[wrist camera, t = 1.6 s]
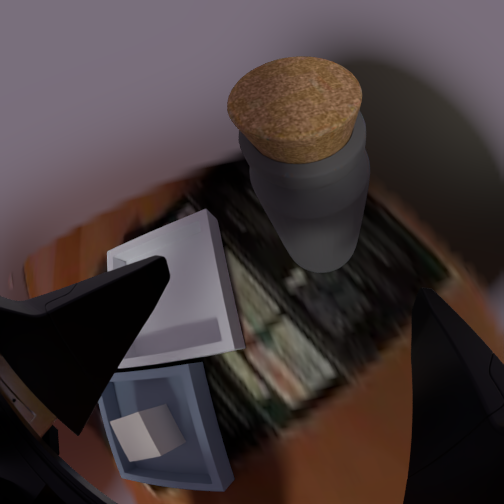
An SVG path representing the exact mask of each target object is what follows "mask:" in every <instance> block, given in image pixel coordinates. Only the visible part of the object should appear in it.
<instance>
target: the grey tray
mask: <svg viewBox="0 0 504 504" xmlns="http://www.w3.org/2000/svg"><path fill="white" fill-rule="evenodd" d="M154 255H158V256H164V257H165V258H166V260H167V264H168V268H169V272H170V280H169V283H168V284H167V286H166V288H165V290H164V292H163V294H162V296H161V298H160V299H159V301H158V303H157V305H156V307H155V309H154V311H153V312H152V314H151V315H150V317H149V319H148V320H147V322H146V323H145V325H144V326H143V328H142V329H141V331H140V333H139V334H138V336H137V337H136V339H135V341H134V342H133V344H132V345H131V347H130V349H129V350H128V352H127V353H126V355H125V357H124V358H123V360H122V362H121V363H120V365H119V366H118V368H134V367H143V366H150V365H158V364H165V363H171V362H177V361H183V360H189V359H195V358H200V357H206V356H211V355H216V354H221V353H226V352H230V351H235V350H239V349H244V348H246V347H245V343H244V339H243V335H242V330H241V326H240V322H239V317H238V313H237V309H236V304H235V300H234V295H233V291H232V286H231V282H230V277H229V272H228V268H227V263H226V258H225V254H224V249H223V244H222V239H221V234H220V229H219V224H218V220H217V219H216V218H215V217H214V216H213V215H212V214H211V213H210V212H209V211H208V210H207V209H204V210H201V211H199V212H196V213H194V214H192V215H189V216H187V217H184V218H182V219H179V220H177V221H175V222H172V223H170V224H168V225H165V226H163V227H161V228H158V229H156V230H154V231H151V232H149V233H147V234H144V235H142V236H140V237H138V238H136V239H133V240H131V241H129V242H127V243H125V244H122V245H120V246H118V247H116V248H114V249H112V250H109V251H107V268H108V271H111V270H114V269H117V268H120V267H123V266H125V265H128V264H131V263H134V262H137V261H140V260H143V259H146V258H148V257H151V256H154Z"/></svg>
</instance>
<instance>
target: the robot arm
mask: <svg viewBox="0 0 504 504" xmlns="http://www.w3.org/2000/svg"><path fill="white" fill-rule="evenodd" d="M169 280H170V272H169V268H168V264H167V260H166V258H165V257H164V256H158V255H154V256H151V257H148V258H146V259H143V260H140V261H137V262H134V263H131V264H128V265H125V266H123V267H120V268H117V269H114V270H111V271H108V272H106V273H103V274H100V275H97V276H95V277H92V278H89V279H86V280H84V281H81V282H79V283H75V284H73V285H70V286H67V287H64V288H62V289H59V290H56V291H53V292H50V293H47V294H44V295H41V296H38V297H35V298H32V299H29V300H25V301H14V300H10V299H7V298H4V297H1V296H0V504H117V503H116V502H114V501H113V500H111V499H110V498H109V497H107V496H106V495H104V494H103V493H102V492H100V491H99V490H98V489H96V488H95V487H94V486H93V485H91V484H90V483H89V482H88V481H86V480H85V479H84V478H83V477H82V476H80V475H79V474H78V473H77V472H76V471H75V470H73V469H72V468H71V467H70V466H69V465H68V464H67V463H66V462H65V461H64V460H63V459H62V458H60V457H59V456H58V455H59V443H58V442H59V441H58V430H57V429H56V428H55V427H54V426H53V423H54V422H55V421H56V420H57V418H58V419H59V420H60V421H61V422H62V423H63V424H65V425H66V426H67V427H68V428H69V429H70V430H71V431H73V432H74V433H75V434H76V435H77V436H79V435H80V433H81V432H82V430H83V428H84V426H85V424H86V422H87V421H88V419H89V417H90V415H91V413H92V412H93V410H94V408H95V406H96V404H97V403H98V401H99V399H100V397H101V396H102V394H103V392H104V390H105V388H106V387H107V385H108V383H109V382H110V380H111V378H112V376H113V375H114V373H115V371H116V370H117V368H118V366H119V365H120V363H121V362H122V360H123V358H124V357H125V355H126V353H127V352H128V350H129V349H130V347H131V345H132V344H133V342H134V341H135V339H136V337H137V336H138V334H139V333H140V331H141V329H142V328H143V326H144V325H145V323H146V322H147V320H148V319H149V317H150V315H151V314H152V312H153V311H154V309H155V307H156V305H157V303H158V301H159V299H160V298H161V296H162V294H163V292H164V290H165V288H166V286H167V284H168V283H169ZM492 353H493V352H492V350H491V349H490V348H489V347H488V346H487V345H486V344H485V343H484V341H483V340H482V339H481V338H480V337H479V336H478V335H477V334H476V333H475V332H474V331H473V329H472V328H471V327H470V326H469V325H468V324H467V323H466V322H465V321H464V320H463V319H462V318H461V317H460V316H459V315H458V314H457V313H456V312H455V311H454V310H453V309H452V308H451V307H450V306H449V305H448V304H447V303H446V302H445V301H444V300H443V299H442V298H441V297H440V296H439V295H438V294H437V293H436V292H435V291H434V290H432V289H430V288H420V289H419V291H418V294H417V297H416V300H415V303H414V306H413V309H412V341H411V364H412V388H413V416H412V439H411V452H410V462H409V471H408V479H407V484H406V490H405V496H404V501H403V504H504V364H503V363H502V362H501V361H500V360H499V359H498V357H497V356H496V355H495V354H494V353H493V354H492Z"/></svg>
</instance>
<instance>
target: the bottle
mask: <svg viewBox="0 0 504 504" xmlns="http://www.w3.org/2000/svg"><path fill="white" fill-rule="evenodd" d="M361 101H362V90H361V87H360V84H359V82H358V80H357V79H356V78H355V77H354V75H353V74H352V73H351V72H349V71H348V70H347V69H345V68H344V67H342V66H341V65H339V64H336V63H334V62H332V61H329V60H325V59H321V58H315V57H289V58H282V59H278V60H274V61H271V62H268V63H265V64H263V65H261V66H259V67H257V68H255V69H253V70H252V71H250V72H249V73H247V74H246V75H245V76H243V77H242V78H241V79H240V80H239V81H238V82H237V84H236V85H235V86H234V87H233V89H232V91H231V93H230V95H229V98H228V102H227V104H228V105H227V107H228V109H227V111H228V114H229V117H230V119H231V120H232V122H233V123H234V124H235V126H236V127H237V128H238V129H239V144H240V148H241V150H242V153H243V155H244V157H245V159H246V161H247V162H248V164H249V166H250V170H249V172H250V180H251V184H252V187H253V189H254V191H255V194H256V196H257V197H258V199H259V201H260V203H261V205H262V207H263V208H264V210H265V212H266V214H267V215H268V217H269V219H270V221H271V223H272V224H273V226H274V228H275V230H276V231H277V233H278V235H279V237H280V239H281V240H282V242H283V244H284V246H285V247H286V249H287V251H288V253H289V254H290V256H291V257H292V259H293V260H294V261H295V262H296V263H297V264H298V265H299V266H301V267H302V268H304V269H306V270H308V271H312V272H316V273H325V272H331V271H334V270H336V269H338V268H340V267H341V266H343V265H344V264H345V263H346V262H347V261H348V260H349V259H350V257H351V256H352V255H353V252H354V250H355V247H356V244H357V240H358V236H359V232H360V227H361V223H362V218H363V213H364V208H365V203H366V197H367V192H368V186H369V177H370V163H369V157H368V155H367V152H366V149H365V144H366V125H365V121H364V118H363V116H362V114H361V112H360V110H359V109H360V106H361Z"/></svg>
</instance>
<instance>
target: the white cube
mask: <svg viewBox="0 0 504 504" xmlns="http://www.w3.org/2000/svg"><path fill="white" fill-rule="evenodd" d="M110 424H111V426H112V428H113V430H114V432H115V434H116V436H117V438H118V440H119V442H120V444H121V446H122V448H123V450H124V452H125V454H126V456H127V458H128V460H129V461H130V462H132V461H138V460H143V459H149V458H154V457H158V456H162V455H164V454H166V453H167V452H169V451H171V450H173V449H175V448H176V447H178V446H180V445H182V444H183V443H185V442H186V440H185V439H184V437H183V435H182V433H181V431H180V430H179V428H178V426H177V424H176V422H175V420H174V418H173V416H172V414H171V412H170V410H169V408H168V406H167V404H164V405H160V406H157V407H154V408H150V409H147V410H143V411H138V412H136V413H133V414H130V415H127V416H124V417H121V418H119V419H116V420H113V421H110Z"/></svg>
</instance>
